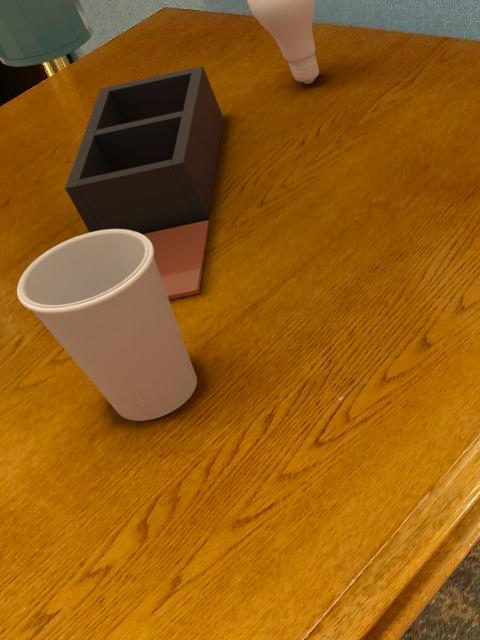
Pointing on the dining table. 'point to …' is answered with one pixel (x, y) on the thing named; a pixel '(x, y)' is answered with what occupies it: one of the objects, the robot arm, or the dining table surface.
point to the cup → (41, 30)
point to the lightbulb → (291, 32)
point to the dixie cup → (113, 320)
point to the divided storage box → (148, 154)
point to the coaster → (180, 257)
